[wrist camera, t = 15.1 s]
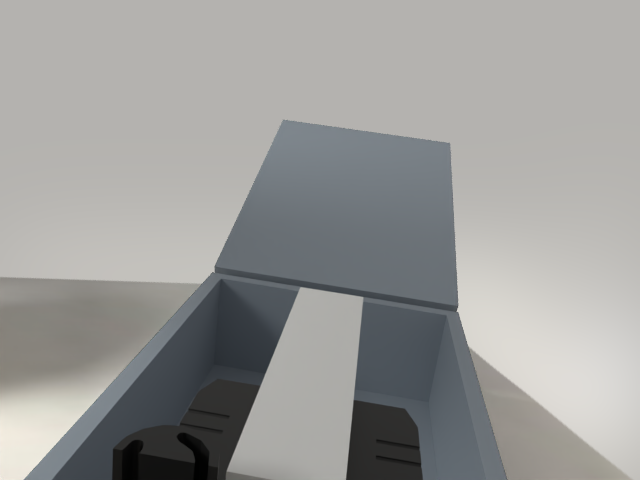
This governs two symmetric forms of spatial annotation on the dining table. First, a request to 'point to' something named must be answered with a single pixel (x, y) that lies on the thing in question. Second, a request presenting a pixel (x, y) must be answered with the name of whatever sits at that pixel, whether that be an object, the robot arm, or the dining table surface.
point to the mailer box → (253, 361)
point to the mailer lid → (350, 217)
